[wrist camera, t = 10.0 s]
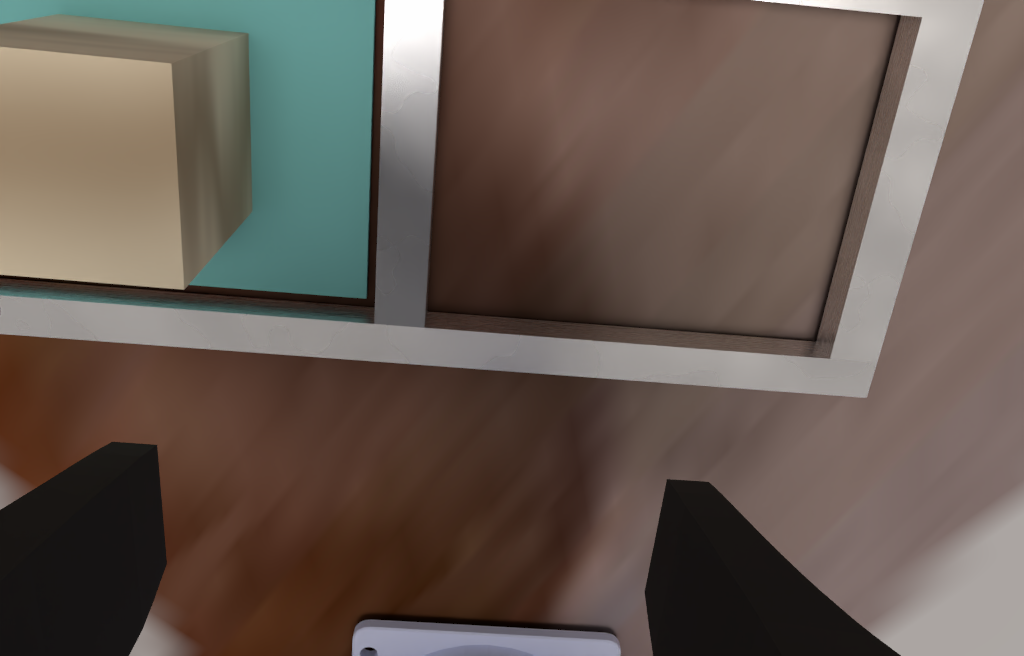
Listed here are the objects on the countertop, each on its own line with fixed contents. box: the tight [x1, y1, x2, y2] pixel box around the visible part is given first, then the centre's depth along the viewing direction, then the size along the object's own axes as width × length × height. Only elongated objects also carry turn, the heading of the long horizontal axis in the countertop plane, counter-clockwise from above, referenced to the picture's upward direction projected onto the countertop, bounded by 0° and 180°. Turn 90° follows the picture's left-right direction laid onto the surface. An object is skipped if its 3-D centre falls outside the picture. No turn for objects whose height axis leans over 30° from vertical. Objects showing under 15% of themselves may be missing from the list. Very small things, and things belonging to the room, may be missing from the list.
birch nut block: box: [0, 14, 252, 290], centre depth 17 cm, size 4×4×5 cm
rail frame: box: [0, 0, 984, 398], centre depth 20 cm, size 10×24×1 cm, turn 85°
